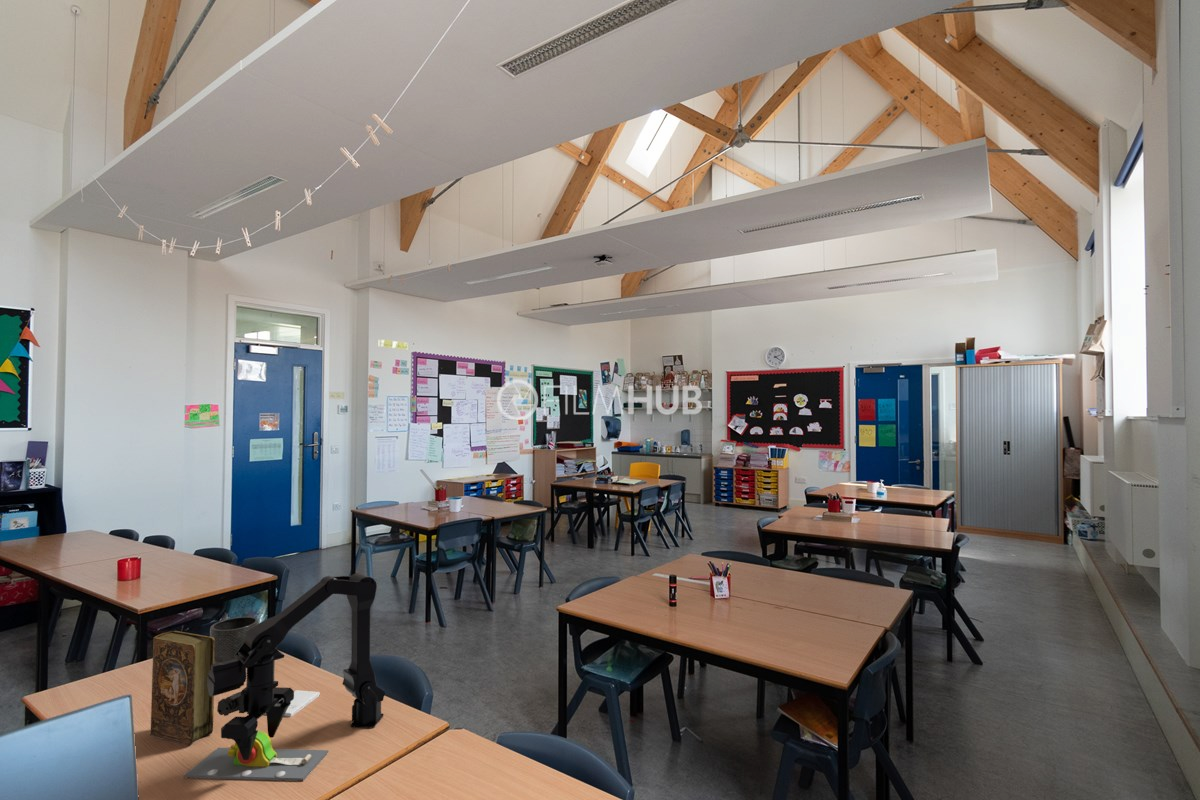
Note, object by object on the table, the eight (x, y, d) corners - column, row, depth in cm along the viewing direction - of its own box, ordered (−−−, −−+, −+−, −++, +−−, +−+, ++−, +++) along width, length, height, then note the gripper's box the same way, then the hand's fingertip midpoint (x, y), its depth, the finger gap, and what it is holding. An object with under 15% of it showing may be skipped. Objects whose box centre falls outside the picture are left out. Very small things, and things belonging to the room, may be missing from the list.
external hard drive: (319, 697, 168) (291, 718, 156) (294, 695, 169) (264, 716, 157) (319, 691, 168) (291, 712, 156) (294, 689, 169) (264, 710, 157)
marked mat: (328, 752, 139) (328, 749, 139) (303, 781, 128) (303, 777, 128) (218, 749, 140) (218, 746, 140) (183, 777, 129) (183, 774, 129)
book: (146, 734, 147) (149, 637, 148) (169, 724, 152) (171, 630, 153) (191, 746, 142) (194, 645, 143) (212, 735, 147) (215, 637, 148)
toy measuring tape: (237, 753, 137) (238, 726, 138) (316, 755, 137) (316, 727, 137) (219, 769, 131) (220, 740, 131) (301, 771, 130) (301, 742, 131)
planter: (198, 669, 186) (199, 629, 187) (232, 652, 200) (233, 615, 200) (235, 672, 184) (236, 631, 184) (267, 654, 198) (268, 617, 198)
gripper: (253, 663, 144) (252, 726, 144) (198, 699, 126) (196, 771, 125) (295, 664, 144) (294, 727, 143) (246, 700, 125) (245, 772, 125)
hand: (259, 748), depth 134 cm, fingers open, 9 cm apart
